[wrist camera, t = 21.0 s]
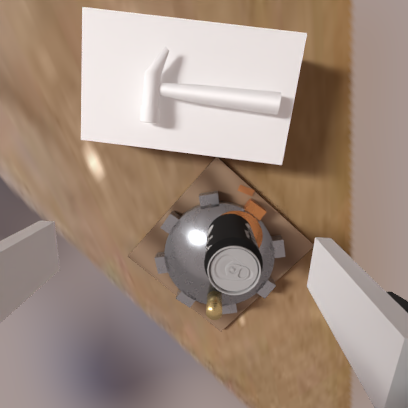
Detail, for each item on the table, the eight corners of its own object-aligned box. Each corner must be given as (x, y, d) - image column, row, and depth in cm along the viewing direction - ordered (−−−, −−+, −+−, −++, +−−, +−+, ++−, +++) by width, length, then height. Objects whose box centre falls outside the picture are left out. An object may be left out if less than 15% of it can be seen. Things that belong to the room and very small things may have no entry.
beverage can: (216, 205, 39) (215, 234, 28) (258, 220, 40) (275, 255, 28) (201, 245, 41) (195, 287, 29) (242, 259, 41) (251, 306, 30)
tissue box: (112, 35, 38) (71, -4, 28) (287, 56, 38) (314, 24, 27) (108, 139, 42) (71, 139, 31) (269, 159, 41) (286, 167, 31)
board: (217, 155, 41) (217, 156, 40) (313, 243, 44) (315, 245, 43) (129, 253, 46) (127, 256, 45) (220, 327, 48) (220, 332, 47)
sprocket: (160, 185, 41) (151, 192, 36) (291, 197, 41) (303, 207, 35) (154, 299, 46) (145, 323, 40) (271, 312, 46) (279, 338, 40)
